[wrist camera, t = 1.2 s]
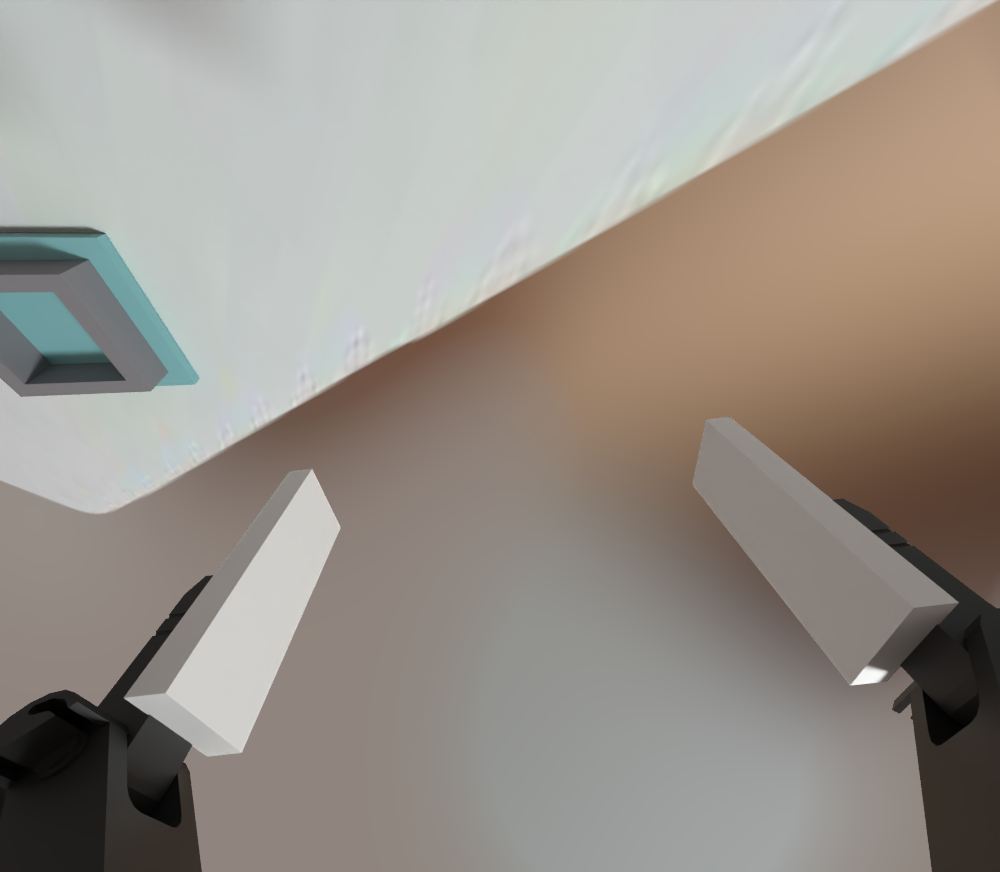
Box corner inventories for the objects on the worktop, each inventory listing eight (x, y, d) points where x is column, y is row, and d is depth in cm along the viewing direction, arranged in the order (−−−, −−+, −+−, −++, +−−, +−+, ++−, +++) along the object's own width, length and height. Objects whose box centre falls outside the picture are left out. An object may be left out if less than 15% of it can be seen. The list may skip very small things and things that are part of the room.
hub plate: (-101, 232, 25) (-169, 251, 23) (105, 233, 27) (66, 251, 24) (51, 384, 34) (16, 411, 32) (199, 378, 36) (179, 403, 33)
